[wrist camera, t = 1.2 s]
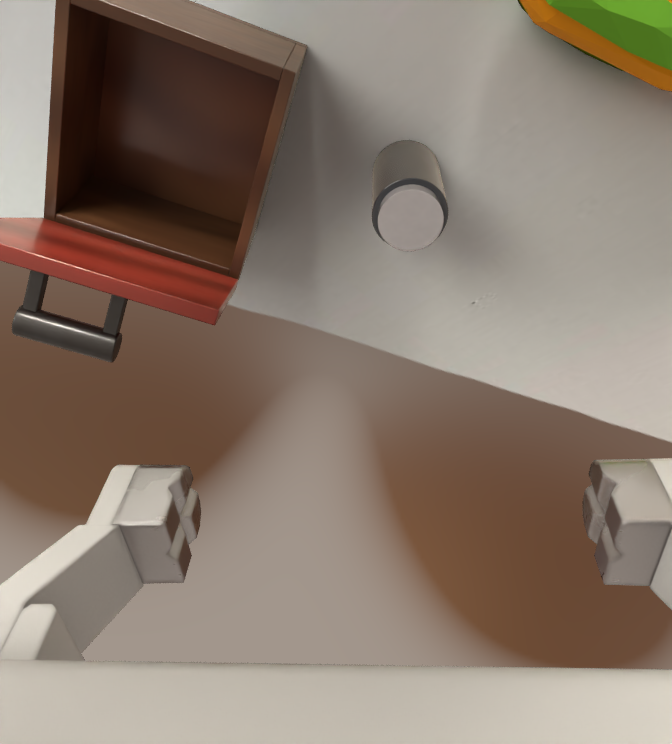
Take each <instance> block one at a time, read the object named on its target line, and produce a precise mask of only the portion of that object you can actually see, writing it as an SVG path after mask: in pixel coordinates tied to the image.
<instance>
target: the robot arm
mask: <svg viewBox="0 0 672 744" xmlns="http://www.w3.org/2000/svg"><path fill="white" fill-rule="evenodd" d="M589 476H590V479H591V482H592V485H591V486H589V487H588V488H587V489H586V490H585V492H584V498H583V518H584V525H585V528H586V532H587V535H588V537H589V538H590V539H591V540H593V541H594V542H595V543H596V544H597V547H596V552H595V555H594V556H595V559H596V562H597V565H598V568H599V570H600V573H601V577H602V580H603V582H604V584H607V585H641V586H650V589H651V590H652V591H653V592H654V593H655V594H656V595H657V596H658V597H659V598H660V599H661V600H662V601H663V602H665V604H666V605H667V606H668V607H669V608H670V609H671V610H672V459H671V458H669V459H647V460H645V459H628V460H627V459H625V460H594V461H593V463H592V464H591V467H590V471H589ZM192 481H193V476H192V473H191V470H190V467H188V466H186V465H117V466H116V467H114V468H113V469H112V470H111V472H110V475H109V477H108V479H107V481H106V483H105V485H104V487H103V489H102V491H101V494H100V496H99V498H98V500H97V502H96V504H95V506H94V508H93V510H92V513H91V515H90V517H89V519H88V521H87V523H86V525H79V526H77V527H76V528H75V529H73V530H72V531H71V532H69V533H68V534H67V535H65V536H64V537H63V538H61V539H60V540H59V541H57V542H56V543H55V544H53V545H52V546H51V547H50V548H48V549H47V550H46V551H44V552H43V553H42V554H40V555H39V556H38V557H37V558H35V559H34V560H32V561H31V562H30V563H29V564H27V565H26V566H24V567H23V568H22V569H21V570H19V571H18V572H17V573H15V574H14V575H13V576H11V577H10V578H9V579H7V580H6V581H5V582H3V583H2V584H1V585H0V744H672V670H669V669H662V670H661V669H601V668H533V667H530V668H528V667H459V666H456V667H455V666H395V665H393V666H392V665H330V664H268V663H267V664H266V663H201V662H199V663H198V662H135V661H134V662H131V661H85V659H84V657H83V656H82V654H81V653H82V652H83V651H84V650H85V649H86V648H87V647H88V646H89V645H90V643H91V642H92V641H93V640H94V639H95V638H96V637H97V636H98V635H99V634H100V632H101V631H102V630H103V629H104V628H105V627H106V626H107V625H108V624H109V623H110V622H111V621H112V619H113V618H114V617H115V616H116V615H117V614H118V613H119V612H120V611H121V610H122V609H123V608H124V607H125V605H126V604H127V603H128V602H129V601H130V600H131V599H132V598H133V597H134V596H135V594H136V593H137V592H138V591H139V590H140V589H141V588H142V587H143V584H145V583H183V582H184V580H185V576H186V573H187V569H188V566H189V562H190V559H191V556H192V555H191V552H190V548H189V544H190V543H191V542H192V541H193V540H194V539H196V538H197V534H198V530H199V527H200V518H201V517H200V516H201V508H200V500H199V496H198V493H197V492H196V491H194V490H193V489H192V488H191V484H192Z"/></svg>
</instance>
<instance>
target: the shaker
mask: <svg viewBox="0 0 672 744" xmlns="http://www.w3.org/2000/svg"><path fill="white" fill-rule="evenodd" d="M447 219H448V204H447V200H446V195H445V191H444V187H443V182H442V178H441V173H440V169H439V165H438V161H437V159H436V157H435V155H434V153H433V152H432V151H431V150H430V149H429V148H428V147H427V146H425V145H424V144H422V143H420V142H416V141H412V140H403V141H398V142H395V143H393V144H391V145H389V146H387V147H386V148H385V149H384V150H383V151H382V152H381V153H380V154H379V155H378V157H377V159H376V161H375V163H374V166H373V171H372V222H373V226H374V228H375V231H376V232H377V234H378V235H379V237H380V238H381V239H382V240H383V241H385V242H386V243H387V244H389V245H390V246H392V247H394V248H396V249H398V250H402V251H416V250H420V249H423V248H425V247H427V246H428V245H430V244H431V243H432V242H434V241H435V239H436V238H437V237H438V236H439V235H440V234H441V233H442V231H443V230H444V228H445V226H446V223H447Z"/></svg>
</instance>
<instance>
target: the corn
mask: <svg viewBox="0 0 672 744" xmlns="http://www.w3.org/2000/svg"><path fill="white" fill-rule="evenodd" d="M518 2H519V4H520V6H521V7H522V9H523V10H524V11H525V12H526V13H527V14H528V15H529V16H530V18H531V19H532V21H533V23H535V24H536V25H538V26H539V27H541V28H542V29H544V30H545V31H547V32H548V33H550V34H552V35H554V36H556V37H558V38H560V39H562V40H563V41H565V42H567V43H568V44H570V45H572V46H573V47H575V48H576V49H578V50H580V51H581V52H583V53H585V54H586V55H588V56H591V57H593V58H595V59H597V60H599V61H602V62H604V63H606V64H608V65H610V66H613V67H615V68H617V69H619V70H621V71H625V72H627V73H629V74H631V75H633V76H635V77H637V78H639V79H641V80H643V81H645V82H647V83H649V84H651V85H653V86H655V87H657V88H659V89H661V90H666V91H672V0H518Z"/></svg>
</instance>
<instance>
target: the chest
mask: <svg viewBox="0 0 672 744" xmlns="http://www.w3.org/2000/svg"><path fill="white" fill-rule="evenodd" d="M306 50H307V45H305V44H302V43H299V42H297V41H294V40H292V39H289V38H286V37H284V36H281V35H278V34H276V33H273V32H271V31H268V30H265V29H263V28H260V27H258V26H255V25H252V24H250V23H247V22H244V21H242V20H239V19H237V18H234V17H231V16H229V15H226V14H223V13H221V12H218V11H216V10H213V9H210V8H208V7H205V6H203V5H200V4H197V3H195V2H192V1H189V0H56V9H55V27H54V45H53V63H52V81H51V99H50V117H49V135H48V153H47V171H46V189H45V207H44V218H45V219H48V220H51V221H54V222H57V223H61V224H64V225H67V226H70V227H73V228H76V229H80V230H83V231H86V232H89V233H92V234H95V235H99V236H102V237H105V238H108V239H111V240H114V241H118V242H121V243H124V244H127V245H130V246H133V247H137V248H140V249H143V250H146V251H149V252H152V253H156V254H159V255H162V256H165V257H168V258H171V259H175V260H178V261H181V262H184V263H187V264H190V265H194V266H197V267H200V268H203V269H206V270H209V271H213V272H216V273H219V274H222V275H225V276H228V277H232V278H235V279H238V280H239V278H240V275H241V272H242V269H243V266H244V263H245V261H246V258H247V255H248V252H249V249H250V246H251V243H252V240H253V238H254V235H255V232H256V228H257V225H258V221H259V217H260V214H261V210H262V207H263V203H264V200H265V196H266V193H267V189H268V185H269V182H270V178H271V175H272V171H273V168H274V164H275V161H276V157H277V153H278V150H279V146H280V143H281V139H282V136H283V132H284V129H285V125H286V121H287V118H288V114H289V111H290V107H291V104H292V100H293V97H294V93H295V89H296V86H297V82H298V79H299V75H300V72H301V68H302V65H303V61H304V57H305V54H306Z"/></svg>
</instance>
